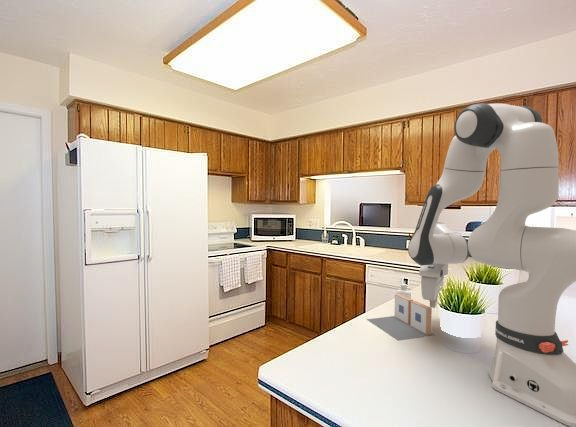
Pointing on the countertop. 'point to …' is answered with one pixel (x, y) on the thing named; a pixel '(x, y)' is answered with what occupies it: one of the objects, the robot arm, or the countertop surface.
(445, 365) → the countertop surface
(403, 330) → the mat
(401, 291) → the eye dropper bottle
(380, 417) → the countertop surface
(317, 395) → the countertop surface
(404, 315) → the tile
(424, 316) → the tile
